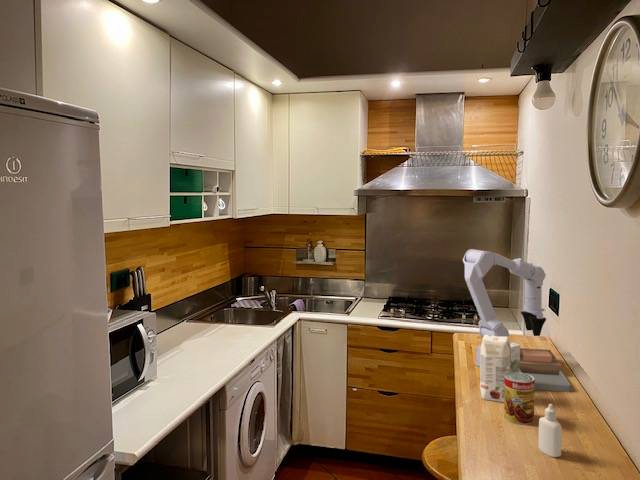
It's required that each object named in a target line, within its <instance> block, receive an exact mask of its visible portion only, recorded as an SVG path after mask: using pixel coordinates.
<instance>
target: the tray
mask: <svg viewBox="0 0 640 480" xmlns="http://www.w3.org/2000/svg"><path fill="white" fill-rule="evenodd" d="M519 372H521V370H520V368H519ZM526 374H529V373H526ZM529 375H531V376H533V377H534V379H535V388H534V391H536V390H537V391H539V390H540V391H549V392H550V391H551V392H563V393H565V392H566V393H571V392H572V385H571V384H570V382H569V380H568V378H566V376H565V374H564V373H563V372H562V370H561V371H559V375H545V374H529Z"/></svg>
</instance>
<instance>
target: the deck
mask: <svg viewBox="0 0 640 480" xmlns="http://www.w3.org/2000/svg"><path fill="white" fill-rule="evenodd" d="M522 350H531V351H548V352H549V353H550V355H551V356H552V362H541V361H524V359H523V357H522ZM519 368H520V370H521V373H529V374H545V375H559V371H561V372H562V364H561V362H559V360H558V358H557V357H556V356H555V354H554V353H553V352H552V350H551V349H540V348H525V347H524V348H521V347H520V367H519Z"/></svg>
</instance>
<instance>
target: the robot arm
mask: <svg viewBox="0 0 640 480" xmlns="http://www.w3.org/2000/svg"><path fill="white" fill-rule="evenodd" d="M462 262H463V265H464V280H465V282H466V283H465V284H466V285H467V288H468V291H469V292H470V296H471V298H472V301H473V303H474V306H475V307H476V311H477V313H478V316H479V319H480V320H479V321H478V327H479V335H480V337H481V338H482V339H483V338H484V335H492V336H506V337H509V336H510V332H509V329H508V328H506V327H505V326H504V323H503V321H501V319H499V317H498V316H497V315H496V312H495V309H494V307H493V305H492V302H491V300H490V297H489V295H488V294H489V293H488V291H487V290H486V289H487V288H486V286H485V284H484V282H483V278H484V277H485V276H486V274H487V273H488V272H489V270H490V269H491V268H492V267H493V266H496V265H498V266H501V267H504V268H507V269H508V271H509V272H510V273H511V274H512V275H515V276H518V277H521V278H522V279H523V280H524V282H525V283H524V294H525V295H524V305H523V311H520V314H521V316H522V318H523V321H524V325H525V329H526V331H532V335H533V336H534V337H541V333H542V330H543V326H544V324H545V322H546V321H547V318H546V317H544V313H543V312H545V311H546V309H545V308H543V307H542V301H543V299H542V297H543V296H542V291H543V289H542V288H543V285H544V280H545V279H546V275H547V274H546V273H545V271H544V269H543V268H542V267H541V266H537V265H534V264H533V263H532V262H526V261H525V260H524V258H519V257H518V258H514V259H510V258H508V257H506V256H503V255H501V254H499V253H497V252H491V251H489V250H481V249H475V248H471V249H468V250H467V251H466V252H465V254H464V256H463V258H462ZM509 338H510V337H509ZM480 362H481V344H478V346H477V347H476V362H475V364H474V365H475V366H477V367H480Z"/></svg>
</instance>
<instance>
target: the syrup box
mask: <svg viewBox="0 0 640 480" xmlns="http://www.w3.org/2000/svg"><path fill="white" fill-rule="evenodd" d="M510 345H511V364H510V372H519V367H520V348H521V344H519V343H516V342H514V341H510Z"/></svg>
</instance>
